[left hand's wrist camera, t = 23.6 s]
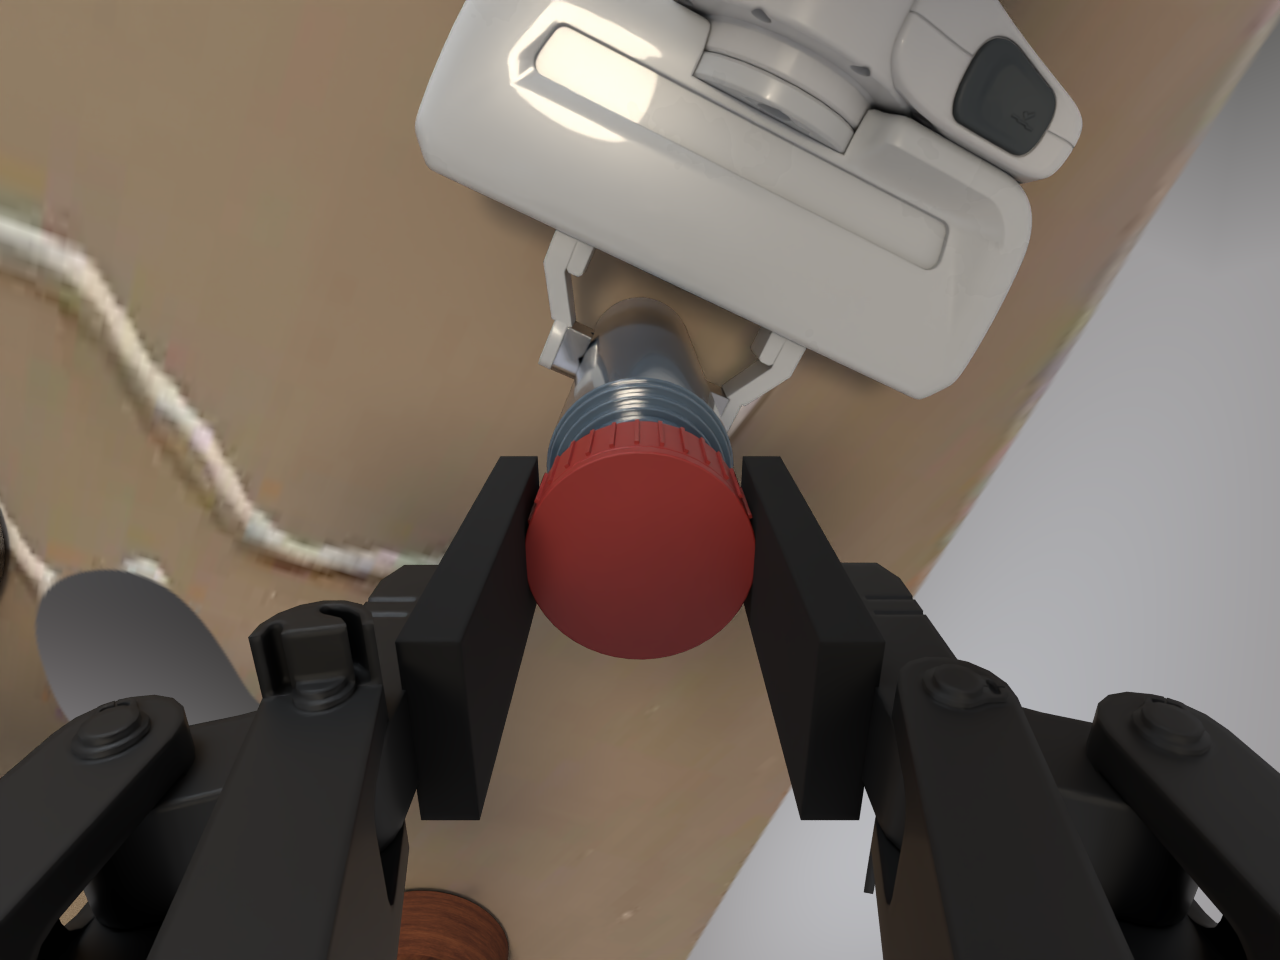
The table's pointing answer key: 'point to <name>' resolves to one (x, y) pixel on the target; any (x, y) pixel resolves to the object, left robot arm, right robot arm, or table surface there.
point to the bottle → (640, 379)
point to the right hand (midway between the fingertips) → (631, 402)
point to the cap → (640, 541)
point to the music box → (448, 929)
